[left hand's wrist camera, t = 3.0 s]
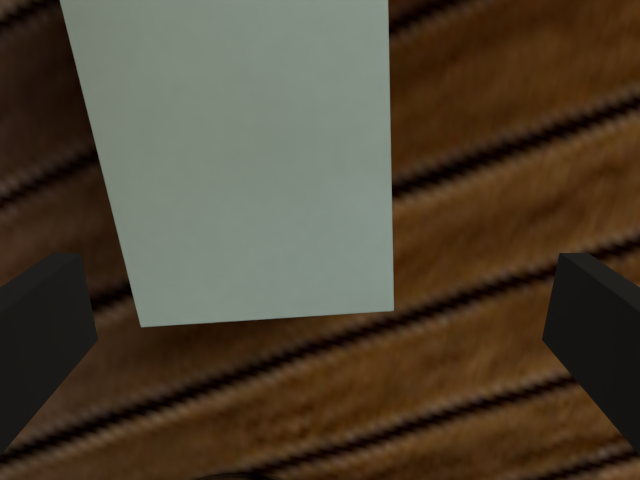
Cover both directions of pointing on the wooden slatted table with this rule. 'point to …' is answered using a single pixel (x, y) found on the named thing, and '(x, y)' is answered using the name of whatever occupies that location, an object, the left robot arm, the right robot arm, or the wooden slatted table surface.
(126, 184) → the cabinet
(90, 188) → the wooden slatted table surface
